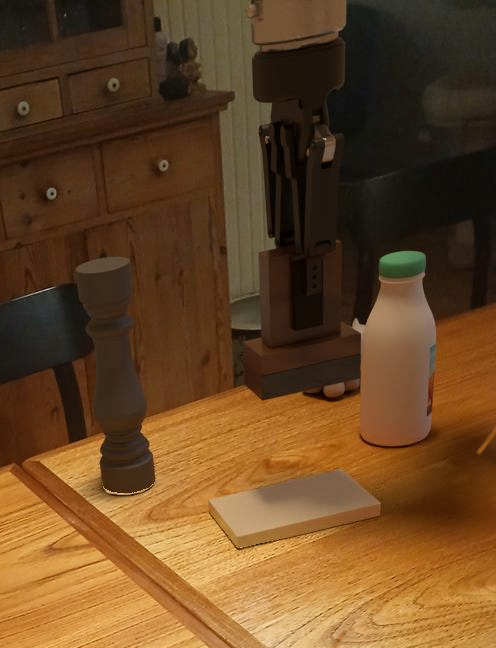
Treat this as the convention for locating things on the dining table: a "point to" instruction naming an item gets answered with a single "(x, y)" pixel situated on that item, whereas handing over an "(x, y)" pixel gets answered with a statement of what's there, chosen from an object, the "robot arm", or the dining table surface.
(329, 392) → the round bodied animal figurine
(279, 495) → the tile
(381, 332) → the milk bottle
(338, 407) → the dining table surface
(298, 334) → the stepped wooden block
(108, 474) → the candle holder
